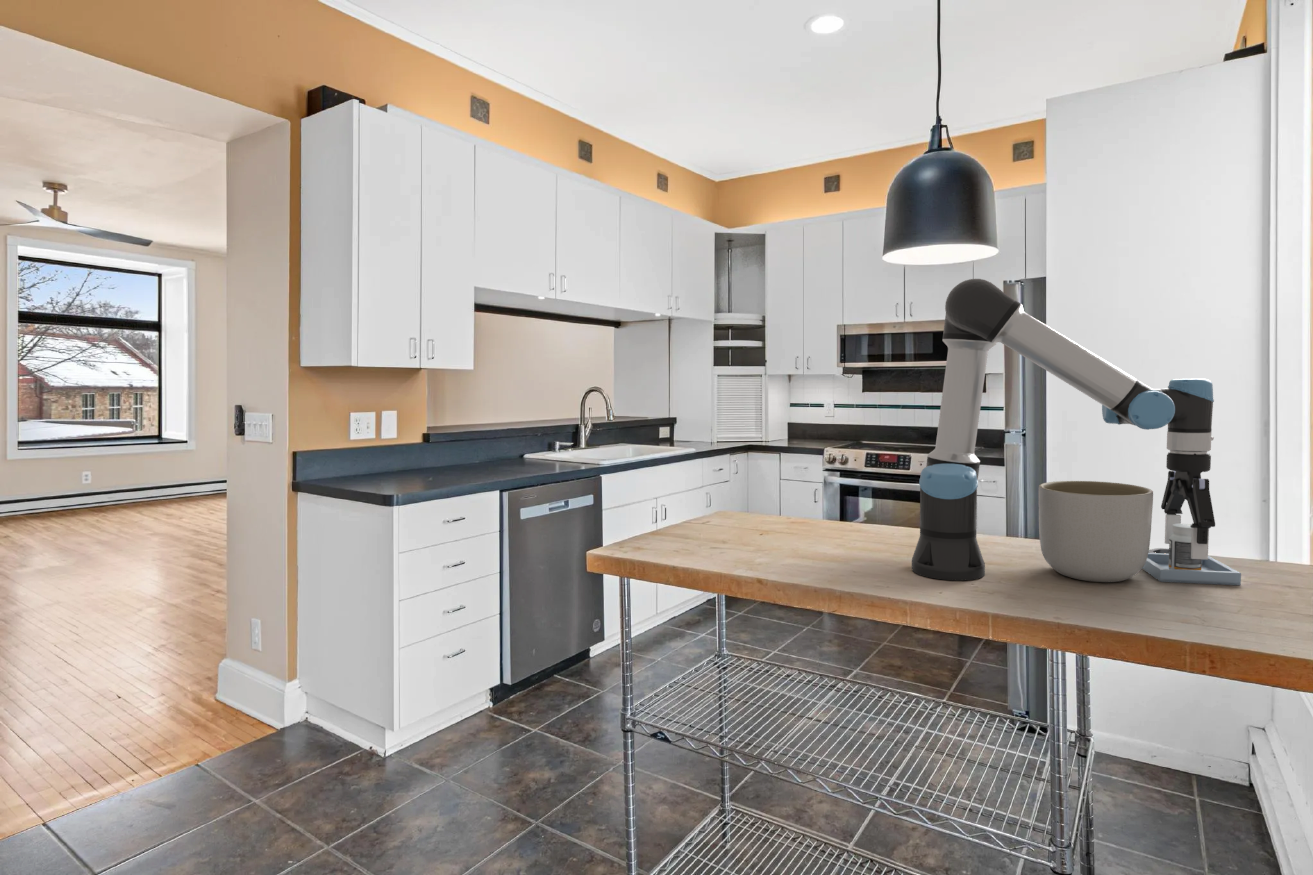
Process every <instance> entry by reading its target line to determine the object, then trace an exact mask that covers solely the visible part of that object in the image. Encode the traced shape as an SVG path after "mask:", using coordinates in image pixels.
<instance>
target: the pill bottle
mask: <svg viewBox="0 0 1313 875" xmlns="http://www.w3.org/2000/svg"><path fill="white" fill-rule="evenodd" d="M1191 525H1192V523H1191V524H1188V523H1181V524H1173V525H1172V530H1173V532H1174V534H1172V535H1171V536H1170V538H1169V544H1168V549H1169V569H1182V570H1201V563H1202V559H1192V558H1191V538H1192V528H1191V527H1190V526H1191Z"/></svg>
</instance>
